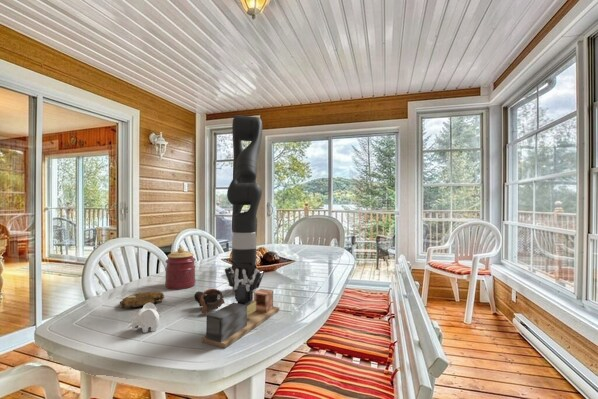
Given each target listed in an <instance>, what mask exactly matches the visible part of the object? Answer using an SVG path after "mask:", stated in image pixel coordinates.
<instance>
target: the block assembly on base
mask: <svg viewBox="0 0 598 399" xmlns="http://www.w3.org/2000/svg"><path fill="white" fill-rule="evenodd" d="M253 301H256V311H254V312H253V313H251V314H249V315H248V316H247V305H245V304H239V303H237V302H231V303H229V304H228V305H225V306H224V307H222V308H220V309H219V308H218V309H216V311H215V310H214V312H211V313H209V314H207V315H206V325H205V326H206V334H205V336H203V337H202V338H201V343H204V344H208V345H212V346H215V347H219V348H223V349H227V348H228V347H230V346H231V345H232V344H234V343H236V342H237V341H238V340H239V339H241V338H242V337H244V336H245V335H247V334H248V333H250V332H252V330H254V329H255V328H257V327H258V326H260V325H261V324H263V323H264V322H265V321H267V320H269V319H270V318H271V317H273V316H274V315H276V314H277V313H279V312H280V306H274V291H273V290H269V289H265V288H264V289H263V288H259V289H258V290H256V291H254V292H253ZM278 311H279V312H278Z"/></svg>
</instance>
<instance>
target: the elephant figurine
mask: <svg viewBox="0 0 598 399" xmlns="http://www.w3.org/2000/svg"><path fill="white" fill-rule="evenodd" d="M157 310H158V308H157V306H156V305H155V303H150V302H149V303H147V304H145V305H143V307H142V308H140V309H139V310H138V311H137V313H136V315H135V317H134V318H133V319H132V320H131V321H130V322H129V324H130V325H129V326H128V327H127V329H129V328H132V330H133V331H137V330H138V329H139V327H140V328H141V329H142V332H143V333H148V332H149V328H150V331H151V332H156V331H157V330H158V328H159V326H160V318H161V317H162V316H163V315H164V313H162V314H159V312H158V311H157Z"/></svg>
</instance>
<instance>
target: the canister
mask: <svg viewBox="0 0 598 399" xmlns="http://www.w3.org/2000/svg"><path fill="white" fill-rule="evenodd" d="M184 249H185V248H183V247H181V246H180V247H178V248H177V251H176V250H175V251H172V252H170V253H169V254H168V255H167V256H166V257H167V259H166V260H165V264H166V266H165V268H164V270H165V282H164V285H165V288H166V289H168V290H185V289H189V288H192V287H194V286H195V284H196V264H195V261H196V258H195V257H194V253H193V252H191V251H189V250H184Z"/></svg>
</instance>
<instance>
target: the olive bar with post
mask: <svg viewBox="0 0 598 399" xmlns="http://www.w3.org/2000/svg"><path fill="white" fill-rule="evenodd" d="M246 291H247V290H246V285H244V284H242V285H239V286H238V301H236V303H239V304H245V305H247V316H248V315H249V314H251V313H253V312H254V311H256V301H254V299H253V300H252V301H251V302H250V303H246Z"/></svg>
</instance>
